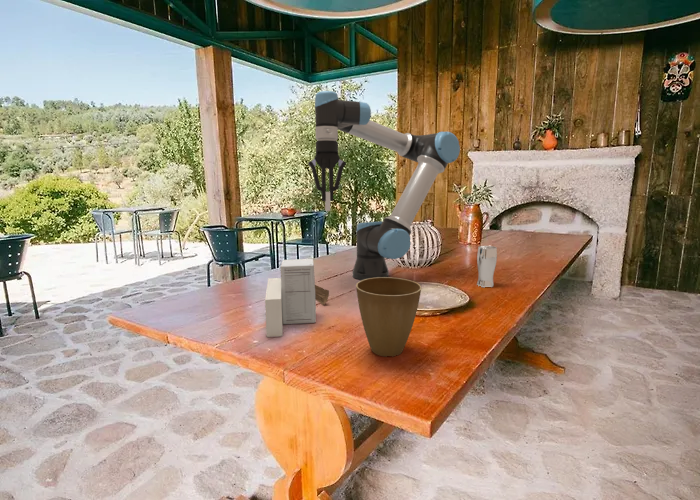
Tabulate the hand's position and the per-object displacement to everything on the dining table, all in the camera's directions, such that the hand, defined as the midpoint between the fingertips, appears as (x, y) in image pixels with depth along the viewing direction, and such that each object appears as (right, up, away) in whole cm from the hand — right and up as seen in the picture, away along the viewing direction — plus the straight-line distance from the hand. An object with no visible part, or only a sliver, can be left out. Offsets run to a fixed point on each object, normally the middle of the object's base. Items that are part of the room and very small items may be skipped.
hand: (327, 210), depth 134 cm
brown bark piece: (-4, -31, -4) cm, 31 cm away
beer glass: (+60, -28, +13) cm, 67 cm away
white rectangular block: (-14, -34, -24) cm, 44 cm away
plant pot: (+17, -38, -43) cm, 60 cm away
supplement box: (-7, -34, -21) cm, 41 cm away
